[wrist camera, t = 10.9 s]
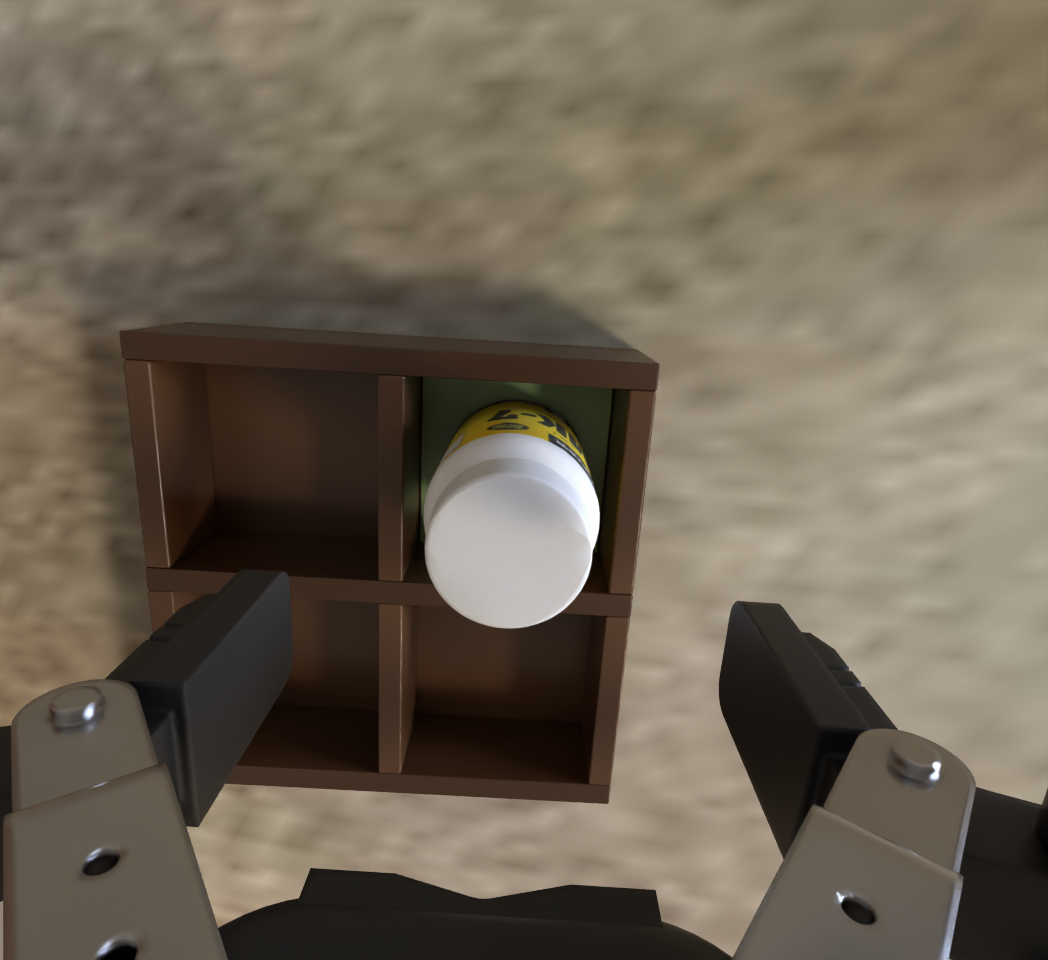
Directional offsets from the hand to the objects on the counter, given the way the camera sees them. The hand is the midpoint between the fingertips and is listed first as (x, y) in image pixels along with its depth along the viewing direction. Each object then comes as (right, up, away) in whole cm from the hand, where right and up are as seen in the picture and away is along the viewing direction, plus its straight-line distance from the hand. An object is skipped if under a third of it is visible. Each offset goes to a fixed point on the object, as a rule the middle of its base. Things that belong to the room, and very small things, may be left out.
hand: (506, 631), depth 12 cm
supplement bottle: (0, +3, +12) cm, 12 cm away
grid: (-4, 0, +13) cm, 14 cm away
